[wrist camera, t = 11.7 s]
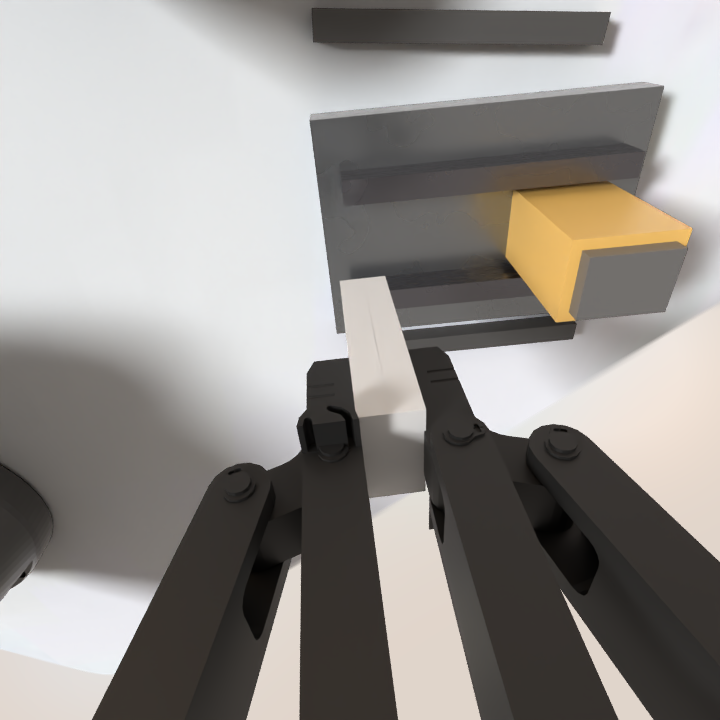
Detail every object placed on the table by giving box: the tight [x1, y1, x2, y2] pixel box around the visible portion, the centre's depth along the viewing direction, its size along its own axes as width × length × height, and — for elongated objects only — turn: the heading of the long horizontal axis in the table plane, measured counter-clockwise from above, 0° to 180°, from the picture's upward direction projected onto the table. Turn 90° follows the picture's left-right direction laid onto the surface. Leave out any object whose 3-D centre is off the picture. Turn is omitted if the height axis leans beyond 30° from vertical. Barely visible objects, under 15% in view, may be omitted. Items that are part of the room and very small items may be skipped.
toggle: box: [505, 181, 693, 322], centre depth 18 cm, size 4×3×7 cm
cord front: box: [312, 8, 611, 45], centre depth 17 cm, size 11×1×1 cm, turn 90°
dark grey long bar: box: [402, 316, 576, 352], centre depth 26 cm, size 12×1×1 cm, turn 95°
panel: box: [310, 82, 664, 334], centre depth 21 cm, size 14×10×3 cm
